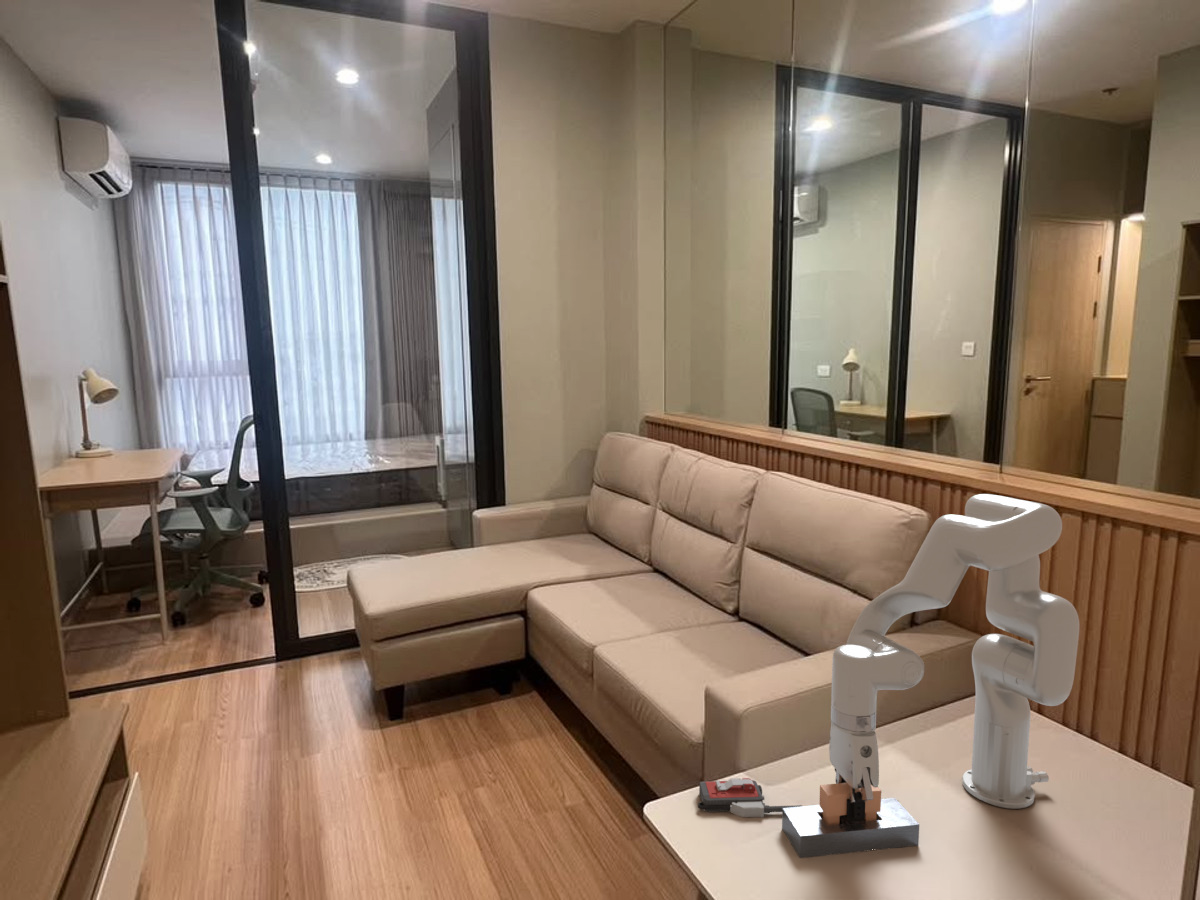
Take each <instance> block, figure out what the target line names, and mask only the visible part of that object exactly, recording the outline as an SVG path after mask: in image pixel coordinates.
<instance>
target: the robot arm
mask: <svg viewBox="0 0 1200 900" xmlns="http://www.w3.org/2000/svg"><path fill="white" fill-rule="evenodd" d="M1062 531H1063V521H1062V518H1061V516H1060V514H1059V513H1058V512H1057V510H1056V509H1054V508H1053V507H1052V506H1050V505H1047V504H1044V503H1041V502H1035V501H1029V500H1024V499H1021V498H1020V499H1019V498H1014V497H1011V496H1004V495H997V494H991V493H978V494H975V495H973V496H972V495H971V497H970V498H968V500H967V501H966V503H965V506H964V515H961V514H955V513H954V514H951V513H950V514H945V515H944V514H943V515H942V516H939V518H937V519H936V520H935V521H934V523H933V524H932V526H931V527H930V529H929V532H927V535H926V536H925V539H924V540H923V542H922V544H921V546H920V548H919V550H918V552H917V554H916V555H915V557H914V559H913V561H912V563H911V565H910V567H909V568H908V570H907V573H906V575H905V576H904V578H903V579H902V580H901V581H900V582H899V583H897V584H895V585H893V586H891V587H890V588H888V589H886V590H885V591H884V592H882V593H881V594H879V595H878V596H877V597H876V598H874V599H872V600H870V602H869V603H868V604H867V605H865V607H864V608H863V609H862V610H861V612H860V613H859V615H858V617H857V619H856V621H855V623H854V625H853V627H852V628H851V631H850V633H849V635H848V637H847V641H846V644H842V645H840V646H837V647H836V648H835V649H834V651H833V653H832V664H831V665H832V667H831V668H832V669H831V671H832V672H831V674H832V675H831V700H830V701H831V705H830V723H831V725H830V733H829V744H828V745H829V747H828V751H829V754H828V755H829V760H830V761H829V762H830V763H831V765H832V767H833V768H834V771H835V779H834V781H835V784H837V783H848V784H849V799H847V814H846V819H847V821H848V822H855V821H863V820H864V819H865V801H867V800H873V793H872V788H871V785H872V786H873V787H875V788H877V787H879V782H880V765H879V764H880V761H879V757H880V756H879V748H878V747H879V746H878V739H877V733H876V726H877V697H878V691H880V690H881V691H884V690H886V691H903V690H907V689H908V690H909V689H910V688H913V687H915V686H916V685H918V684H919V683H920V681H922V679H923V677H924V673H925V664H924V661H923V659H922V658H921V656H920V655H919V654H918V653H917V652H915V651H914V650H912V649H911V648H909V647H907V646H905V645H903V644H901V643H898V642H897V641H894V640H892V639H891V638H888V637H886V634H887V632H888V630H889V629H890V627H891V626H892V625H893V624H894V623H895V622H896V621H897V620H898V619H900V618H902V617H904V616H905V615H909V614H912V613H914V612H920V611H928V610H933V609H942V608H945V607H947V606H948V605H950V603H951V601H952V600H953V598H954V596H955V594H956V592H957V590H958V589H959V586H960V584H961V582H962V580H963V579H964V577H965V575H966V573H967V571H968V569H969V568H970V567H975V568H978V569H981V570H985V571H988V577H987V588H986V589H987V590H986V597H985V615H986V618H987V621H988V622H989V623H990V624H991V625H993V626H994V627H996V628H997V629H1000V630H1002V631H1005V632H1007V633H1010V634H1012V635H1015V636H1018V637H1019V638H1020V637H1021V638H1023V639H1026V640H1028V641H1030V642H1033V645H1032V644H1031V643H1028V642H1025V641H1022V640H1019V639H1017V638H1015V637H1012V636H1008V635H1005V634H1002V633H1001V634H1000V633H988V634H985V635H983V636H981V637H980V638H978V639H977V640H976V642H975V643H974V645H973V648H972V651H971V665H972V671H973V676H974V684H975V685H974V686H975V687H974V688H975V701H974V702H975V703H974V704H975V706H974V717H973V739H972V740H973V741H972V755H971V756H972V757H971V759H972V760H971V769H968V770H967V771H965V772H963V774H962V779H961V780H962V782H961V783H962V786H963V787H964V789H965V790H966V791H967V792H968V793H969V794H970V795H971V796H973V797H974V798H976V799H977V800H980V801H982V802H985V803H986V804H990V805H992V806H995V807H999V808H1004V809H1014V810H1015V809H1019V810H1020V809H1025V808H1027V807H1030V806H1032V805H1033V804H1034V802H1035V797H1036V796H1035V791H1034V789H1033V788H1032V785H1035V783H1046V782H1047V783H1048V782H1049V780H1050V779H1049V775H1048V773H1047V772H1046V771H1044V770H1043V771H1034V770H1033V768H1032V766H1029V765H1028V759H1029V745H1030V727H1031V707H1030V702H1029V700H1030V701H1033V702H1035V703H1038V704H1040V705H1043V706H1046V707H1047V706H1049V707H1054V706H1055V707H1056V706H1060V705H1061V704H1063V703H1064V702H1065V701H1066V700H1067V699H1068V698H1069V696H1070V694H1071V692H1072V689H1073V685H1074V680H1075V672H1076V664H1077V656H1078V647H1079V638H1080V637H1079V636H1080V618H1079V614H1078V611H1077V609H1076V608H1075V606H1074V605H1073V604H1072V603H1071V602H1070V601H1069V600H1068V599H1066V598H1064V597H1062V596H1059V595H1056V594H1053V593H1050V592H1047V591H1044V590H1042V589H1041V587H1040V577H1041V576H1040V575H1041V560H1040V555H1041V554H1042V553H1044V552H1046V551H1048V550H1049V549H1051V548H1053V546H1055V544H1056V543H1057V542H1058V541H1059V539H1060V537H1061V535H1062ZM860 781H861V782H860ZM857 788H861V792H856V793H855V789H857Z"/></svg>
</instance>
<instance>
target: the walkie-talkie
mask: <svg viewBox="0 0 1200 900" xmlns="http://www.w3.org/2000/svg"><path fill="white" fill-rule="evenodd" d="M698 784H699V788H698V789H699V792H698V793H699V797H700V801H699V802H698V803H697V808H698V809H699V810H702V811H705V812H707V813H714V812H715V813H717V812H719V813H720V812H721V813H723V812H730V813H731V814H733V815H735V816H738V817H741V818H764V817H765V814H770V813H782V810H783V808H790V807H800V806H803V805H801V804H799V805H771V806H770V805H767V804H766V803H764V802H763V801H765V795H763V788H762V786H761V785H760V784H758V783H757V781H756V780H753V779H752V778H749V777H746V778H745V777H744V778H739V777H738V778H737V777H736V778H730V779H728V780H715V781H714V780H711V781H710V780H707V781H703V780H702V781H699V783H698Z"/></svg>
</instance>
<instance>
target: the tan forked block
mask: <svg viewBox="0 0 1200 900" xmlns="http://www.w3.org/2000/svg"><path fill="white" fill-rule="evenodd" d="M860 782H861V781H860ZM871 788H872V793H873V800H867V801H865V819H864V820H863V821H864V822H867V821H876V816H877V812H881V799H882V790H881V788H880V787H879V786H878V787H877V788H875V787H873V786H872V785H871ZM856 792H861V788H857V789H855V793H856ZM847 799H849V784H848V783H837V784H836V783H829V784H819V804H818V805H819V806H820V807H821V809H822V810H823V821H824V823H825V824H826V826H827V825H837V824H839V821H840V816H841V815H846V814H847Z"/></svg>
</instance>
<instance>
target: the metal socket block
mask: <svg viewBox="0 0 1200 900" xmlns="http://www.w3.org/2000/svg"><path fill="white" fill-rule="evenodd" d="M781 813H782V815H781V816H782V817H781V820H782V821H781V829H782V831H783V832H784V833H783V834H785V836H786V837H787V839H788V841H789V842H790V844H791V846H792V847H793V848H794V850H795V852H796V853H797V855H798V857H799V858H800V859H802V858H811V857H820V856H829V855H831V854H832V855H839V854H838V853H841V854H850V852H851V853H858V852H857V851H861V852H868V851H867V850H870V851H877V849H880V850H888V848H890V849H898V848H908V847H909V848H910V847H915V846H916V847H917V846H919V844H920V843H919V842H920V840H919V839H920V823H919V822H918V821H917V820H916V819H915V818H914V817H913V816H912V814H910V813H909V811H908V810H907V809H906V808H905V807H904V806H903V805H902V804H901V803H900V802H899V800H897V798H896V797H888V798H887V797H886V798H881V812H877V816H876V821H867V822H864V821H855V822H848V821H847V819H846V815H841V816H840V821H839V824H837V825H827V826H826V824H825V823H824V821H823V810H822V809H821V807H820V806H819V804H814V805H802V806H800V807H790V808H783V810H782V812H781ZM872 849H873V850H872ZM874 849H876V850H874ZM864 850H866V851H864ZM832 855H831V856H832Z"/></svg>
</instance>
